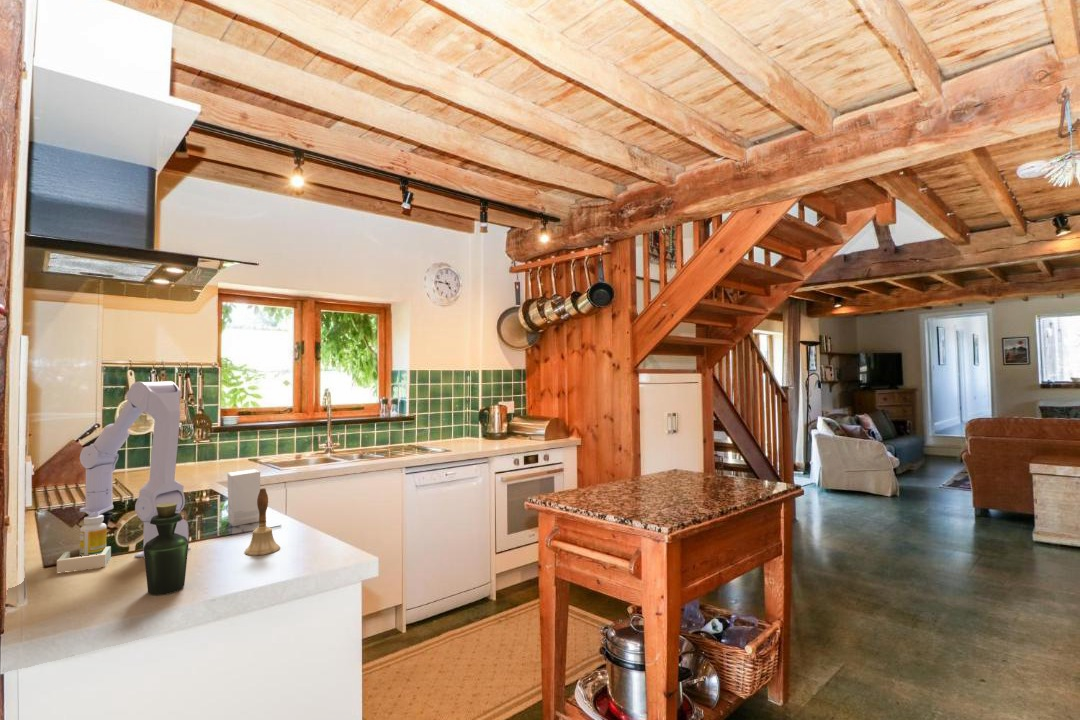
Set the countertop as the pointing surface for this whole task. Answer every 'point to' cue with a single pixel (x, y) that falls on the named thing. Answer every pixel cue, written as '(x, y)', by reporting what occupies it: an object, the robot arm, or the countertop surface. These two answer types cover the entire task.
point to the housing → (83, 561)
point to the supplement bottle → (93, 536)
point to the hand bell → (262, 531)
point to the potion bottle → (166, 553)
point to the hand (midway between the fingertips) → (98, 541)
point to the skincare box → (243, 497)
